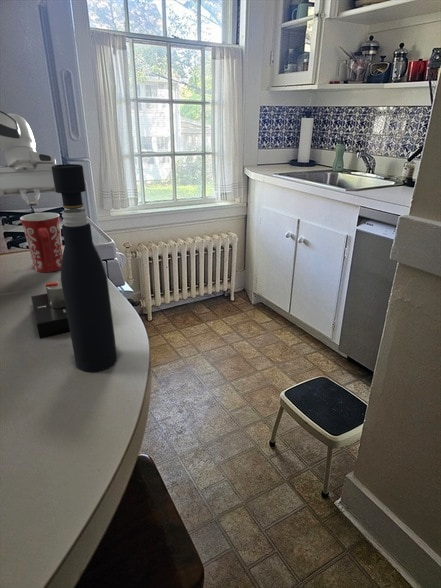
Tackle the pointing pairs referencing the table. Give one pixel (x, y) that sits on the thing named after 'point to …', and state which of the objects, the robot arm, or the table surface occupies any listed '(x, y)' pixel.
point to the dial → (55, 294)
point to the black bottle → (83, 278)
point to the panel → (49, 317)
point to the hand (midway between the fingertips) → (32, 204)
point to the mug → (44, 240)
